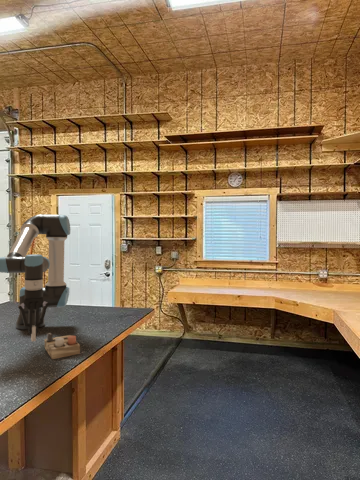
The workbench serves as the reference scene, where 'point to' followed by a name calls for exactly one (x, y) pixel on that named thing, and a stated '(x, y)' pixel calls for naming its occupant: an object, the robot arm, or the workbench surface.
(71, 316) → the workbench surface
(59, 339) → the button
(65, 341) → the console
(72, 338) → the button
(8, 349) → the workbench surface
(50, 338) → the fader knob
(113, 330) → the workbench surface
